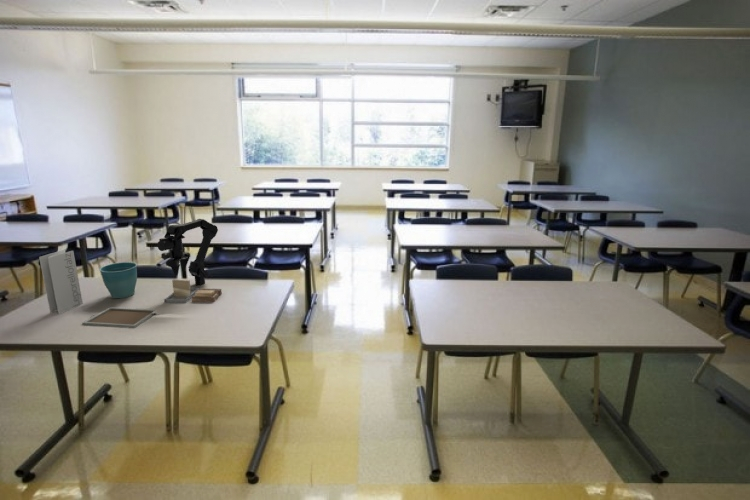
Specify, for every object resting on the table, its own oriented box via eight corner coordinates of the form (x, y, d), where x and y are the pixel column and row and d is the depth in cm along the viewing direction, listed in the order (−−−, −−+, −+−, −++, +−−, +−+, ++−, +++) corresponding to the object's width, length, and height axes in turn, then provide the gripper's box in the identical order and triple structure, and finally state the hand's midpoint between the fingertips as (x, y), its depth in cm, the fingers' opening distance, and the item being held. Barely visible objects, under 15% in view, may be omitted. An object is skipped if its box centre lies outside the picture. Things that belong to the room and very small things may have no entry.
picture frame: (134, 325, 203) (76, 322, 206) (135, 328, 203) (77, 325, 206) (158, 309, 221) (104, 307, 224) (158, 312, 222) (105, 309, 225)
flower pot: (107, 303, 231) (102, 273, 227) (101, 294, 245) (96, 266, 240) (144, 295, 243) (140, 267, 239) (136, 287, 256) (132, 260, 252)
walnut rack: (201, 295, 244) (200, 288, 243) (221, 296, 244) (221, 288, 243) (192, 303, 232) (191, 296, 231) (214, 304, 232) (213, 296, 231)
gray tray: (180, 292, 249) (179, 287, 248) (200, 292, 249) (199, 287, 248) (164, 304, 231) (164, 299, 230) (186, 304, 231) (185, 299, 230)
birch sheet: (175, 296, 240) (173, 279, 238) (191, 296, 240) (189, 279, 238) (174, 297, 239) (172, 280, 236) (190, 297, 239) (188, 280, 236)
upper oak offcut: (198, 294, 237) (198, 290, 236) (214, 294, 237) (214, 290, 236) (195, 296, 233) (195, 292, 232) (211, 296, 233) (211, 293, 232)
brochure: (59, 314, 217) (48, 257, 209) (50, 313, 218) (38, 257, 210) (82, 303, 231) (73, 250, 223) (74, 302, 232) (64, 249, 224)
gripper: (170, 242, 250) (173, 268, 255) (154, 251, 232) (158, 278, 237) (189, 243, 251) (192, 268, 255) (175, 251, 232) (178, 278, 237)
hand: (180, 273), depth 246 cm, fingers open, 9 cm apart
